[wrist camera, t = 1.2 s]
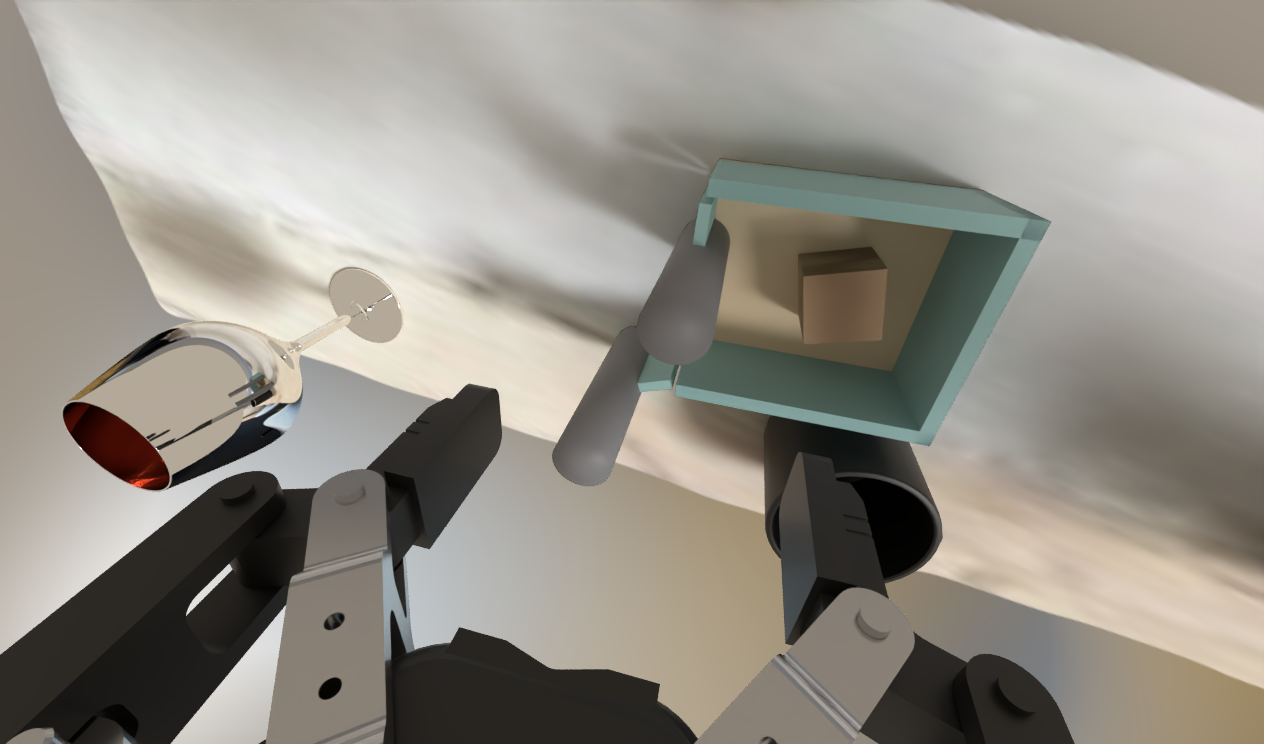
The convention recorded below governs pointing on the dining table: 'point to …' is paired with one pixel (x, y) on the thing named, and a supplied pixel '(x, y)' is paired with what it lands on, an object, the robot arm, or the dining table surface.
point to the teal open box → (914, 302)
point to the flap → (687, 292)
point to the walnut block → (841, 295)
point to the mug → (860, 488)
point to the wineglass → (211, 390)
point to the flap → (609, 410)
